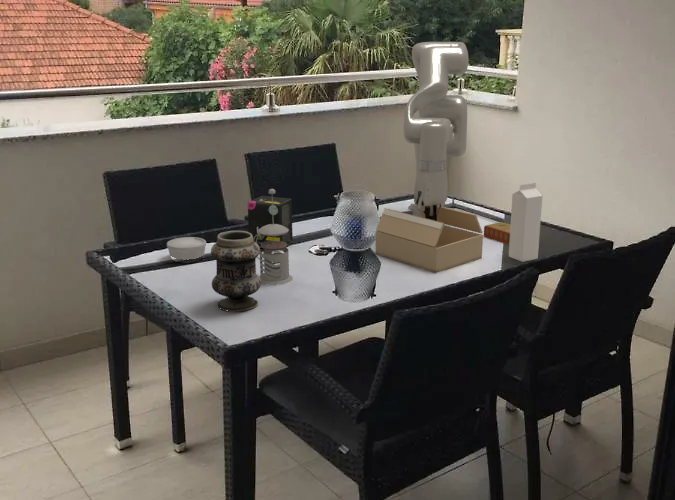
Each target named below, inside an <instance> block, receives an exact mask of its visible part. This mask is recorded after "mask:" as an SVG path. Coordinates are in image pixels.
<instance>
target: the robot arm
mask: <svg viewBox="0 0 675 500" xmlns="http://www.w3.org/2000/svg"><path fill="white" fill-rule="evenodd" d="M411 59H412V63H413V67H414V69H415V72H416V74H417V78H418V83H419V85H418V86H419V88H418V90H417V91H416V92H414V94H413V95H412V96H411V97H410V98H409V100H408V101H407V103H406V106H405V108H404V113H403V138H404V140H405V141H406V142H407V143H409V144H413V148H414V155H415V181H414V192H413V202H414V203H413V202H412V203H411V204H409V206H408V207H407V210H409V211H412V214H411V215H414V216H418V217H422V215H421V213H420V211H423V212H424V214H425V218H426V219H430V220H434V221H437V214H438V213H439V209H440V208H441V207H445V205H446V201H447V199H448V196H449V195H448V194H449V187H448V186H449V185H448V183H449V181H448V172H447V157H451V158H452V157H453V158H454V157H457V158H458V157H461V156H463V155H464V154H465V152H466V148H467V136H468V133H467V131H468V104H467V101H466V98H465V97H464V96H462V95H458V94H457V95H456V94H451V95H450V94H448V92H449V75H464V74H465V73H466V72H467V71H468V68H469V51H468V49H467V46H466V44H465V43H464V42H462V41H425V42H418V43H416V44H414V45H413V47H412V49H411ZM447 94H448V95H447ZM416 112H418V116H419V117H414V115H415V113H416ZM417 204H418V206H417ZM419 210H420V211H419Z"/></svg>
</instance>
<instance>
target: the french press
mask: <svg viewBox="0 0 675 500" xmlns="http://www.w3.org/2000/svg"><path fill="white" fill-rule="evenodd" d="M268 194H269V195H271V197H272V215H273V197H274V196H273V195H275V194H276V189H274V188H270V189H268ZM288 230H289V229H287V228H286V227H284V226H282V225H278V224H274V221H273V224H268V225H266V226H263V227H261V228H260V229H259V230H258V232H259V233H260V234H262V235H267V236H273V241H268V242H266V243H265V242H264V243H262V244H261V248H263V249H260V253H259V255H258V256H259V257H258V256H257V257H256V259H258V260H259V269H260V271H259V272H260V275H258V276H259V277H260V279H261V283H262V284H263V283H264V284H263V285H265V284H269V285H268V286H278V285H277V284H281V285H286V284H289V283H291V282H292V281H293V280H292V278H293V279H294V277H293V276H292V275H291V274H290V268H289V267H290V264H289V263H290V259H289V256H290V255H289V248H288V246H287V244H286V243H285V242H278V241H274V236H279V235H284V234H286V233H288ZM260 234H257V235H258V236H259V235H260ZM257 235H256V236H257ZM256 236H255V237H256ZM258 236H257V239H258ZM255 237H254V238H255ZM254 238H253V240H254ZM263 238H264V236H263ZM257 239H256V243H257ZM260 239H262V238H261V235H260ZM275 250H280V251H275ZM274 251H275V252H274ZM281 251H282V252H281ZM290 281H291V282H290ZM288 282H289V283H288ZM285 283H286V284H285ZM262 284H261V285H262Z"/></svg>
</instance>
